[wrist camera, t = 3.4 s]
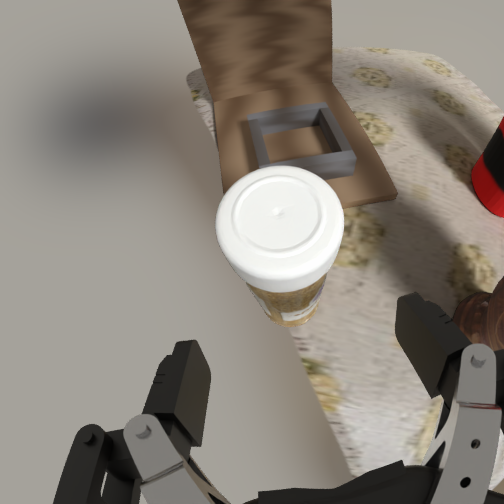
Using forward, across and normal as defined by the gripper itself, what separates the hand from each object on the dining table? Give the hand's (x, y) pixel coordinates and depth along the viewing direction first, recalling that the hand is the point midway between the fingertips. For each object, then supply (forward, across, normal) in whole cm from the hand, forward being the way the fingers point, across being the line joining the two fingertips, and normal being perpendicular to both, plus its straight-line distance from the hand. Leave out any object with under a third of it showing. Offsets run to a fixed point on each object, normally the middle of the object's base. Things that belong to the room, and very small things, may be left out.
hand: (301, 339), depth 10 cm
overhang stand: (+23, -4, -8) cm, 24 cm away
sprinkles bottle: (+11, 0, +5) cm, 12 cm away
